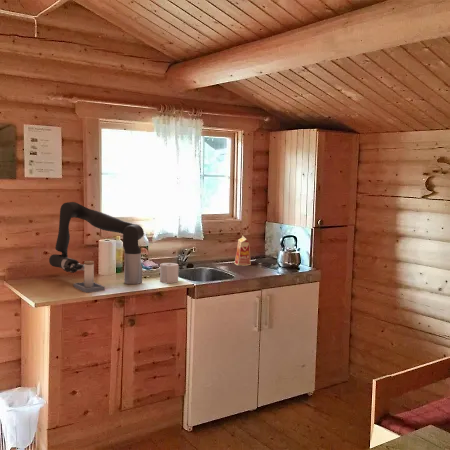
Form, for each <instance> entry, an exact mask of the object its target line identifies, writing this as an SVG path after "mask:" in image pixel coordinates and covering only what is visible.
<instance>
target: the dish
mask: <svg viewBox="0 0 450 450" xmlns="http://www.w3.org/2000/svg"><path fill="white" fill-rule="evenodd" d="M105 287H106V286H104V285H102V284H100V283H97V282H95V281H94V288H85V287H84V281H83V282H73V288H75V289H77V290H79V291H81V292H84V293H95V292H101V291H105Z"/></svg>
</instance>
